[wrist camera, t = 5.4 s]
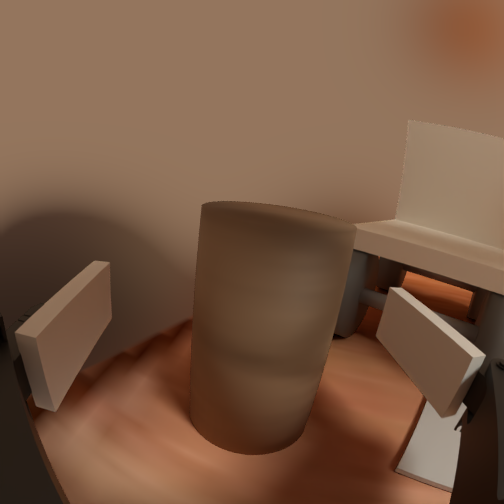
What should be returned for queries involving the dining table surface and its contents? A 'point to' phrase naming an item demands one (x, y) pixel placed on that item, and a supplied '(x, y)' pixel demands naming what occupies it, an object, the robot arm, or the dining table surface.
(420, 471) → the pad
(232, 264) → the cylindrical block
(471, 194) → the trolley
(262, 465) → the dining table surface
